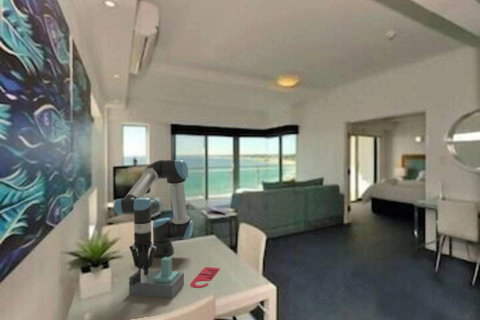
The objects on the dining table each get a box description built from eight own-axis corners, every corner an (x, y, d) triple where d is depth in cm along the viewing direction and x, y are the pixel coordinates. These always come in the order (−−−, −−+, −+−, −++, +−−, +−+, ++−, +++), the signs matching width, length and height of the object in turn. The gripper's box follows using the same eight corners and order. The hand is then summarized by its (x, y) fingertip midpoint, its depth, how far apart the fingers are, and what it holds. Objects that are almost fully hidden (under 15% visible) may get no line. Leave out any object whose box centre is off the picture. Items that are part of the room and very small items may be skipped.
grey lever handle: (141, 275, 140) (141, 267, 140) (147, 275, 139) (147, 267, 139) (128, 286, 129) (128, 277, 129) (134, 286, 128) (133, 277, 128)
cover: (162, 273, 143) (162, 254, 142) (179, 274, 141) (178, 255, 141) (153, 281, 134) (153, 261, 134) (171, 282, 132) (170, 262, 132)
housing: (144, 281, 148) (144, 269, 147) (184, 284, 143) (183, 272, 143) (129, 294, 134) (129, 281, 134) (172, 298, 130) (172, 284, 129)
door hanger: (220, 268, 162) (204, 288, 138) (220, 269, 162) (204, 289, 138) (205, 266, 165) (187, 286, 140) (205, 267, 165) (187, 287, 141)
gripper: (125, 233, 128) (126, 284, 128) (151, 234, 125) (152, 286, 126) (134, 228, 135) (135, 277, 135) (159, 229, 132) (160, 279, 133)
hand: (143, 281), depth 131 cm, fingers closed
